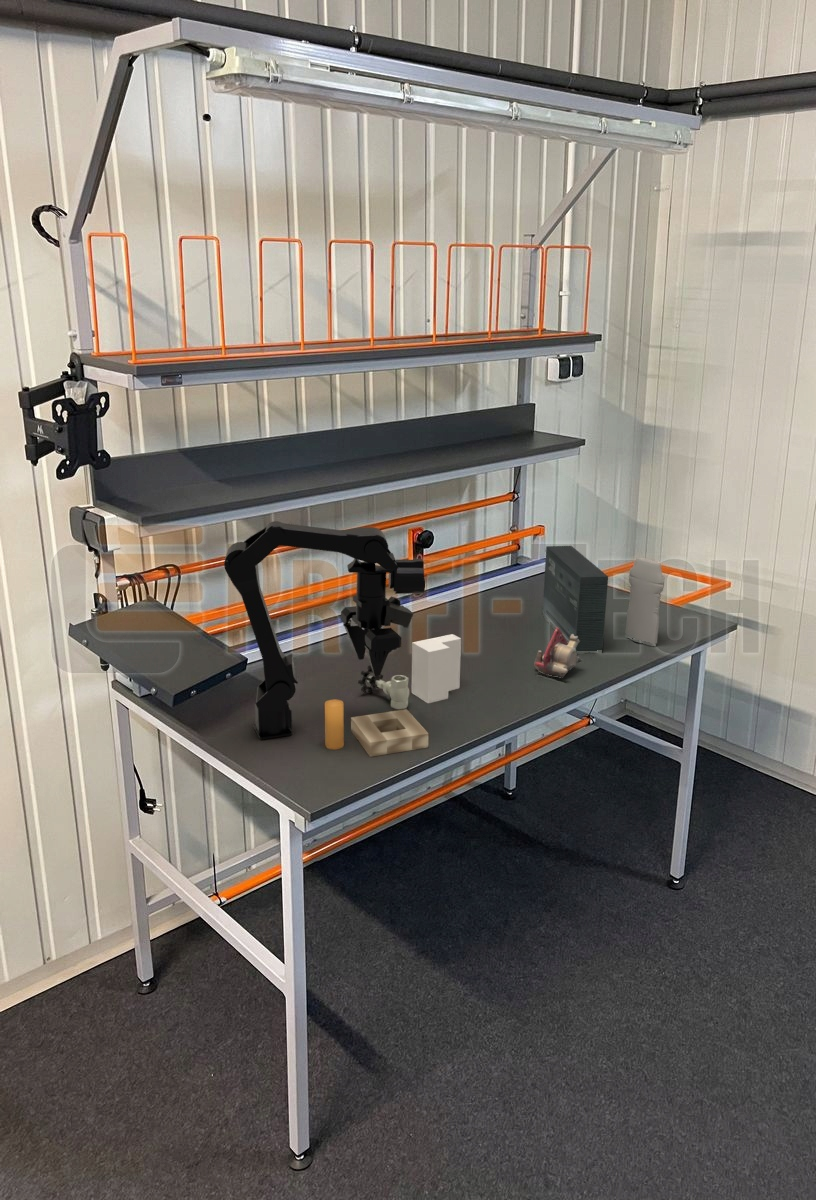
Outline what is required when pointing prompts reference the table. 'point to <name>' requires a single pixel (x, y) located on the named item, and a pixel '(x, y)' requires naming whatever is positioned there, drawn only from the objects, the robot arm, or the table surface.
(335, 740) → the peg
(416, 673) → the corner bracket
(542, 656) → the brake caliper
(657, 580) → the tall pale column
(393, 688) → the valve
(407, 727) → the socket block
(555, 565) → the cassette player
